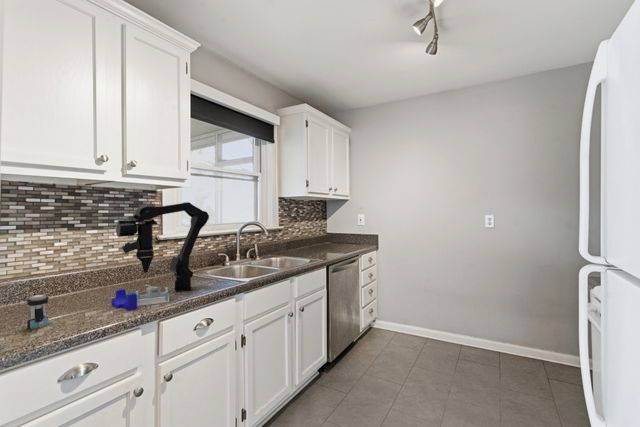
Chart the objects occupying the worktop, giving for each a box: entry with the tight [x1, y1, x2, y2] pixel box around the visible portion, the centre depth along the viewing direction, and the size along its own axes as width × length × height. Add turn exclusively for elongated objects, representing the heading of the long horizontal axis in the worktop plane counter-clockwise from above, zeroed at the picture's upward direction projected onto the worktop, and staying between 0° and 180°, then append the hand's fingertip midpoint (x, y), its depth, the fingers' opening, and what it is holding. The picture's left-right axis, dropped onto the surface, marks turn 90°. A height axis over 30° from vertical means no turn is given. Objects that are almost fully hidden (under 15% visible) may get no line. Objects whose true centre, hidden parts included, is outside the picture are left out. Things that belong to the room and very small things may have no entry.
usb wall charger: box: [145, 285, 161, 298], centre depth 129 cm, size 4×7×4 cm, turn 44°
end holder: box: [134, 286, 170, 307], centre depth 129 cm, size 13×10×4 cm
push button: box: [26, 294, 54, 330], centre depth 102 cm, size 7×5×10 cm
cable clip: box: [110, 288, 138, 312], centre depth 121 cm, size 12×4×6 cm, turn 53°
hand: (145, 270), depth 135 cm, fingers open, 9 cm apart
